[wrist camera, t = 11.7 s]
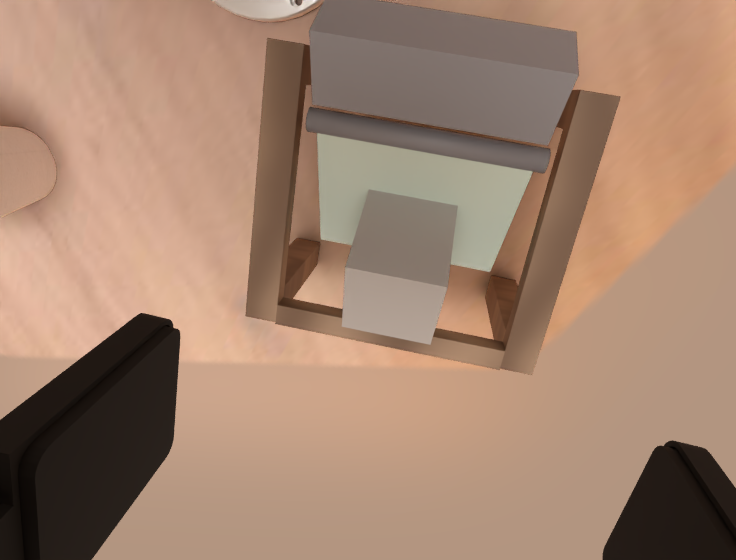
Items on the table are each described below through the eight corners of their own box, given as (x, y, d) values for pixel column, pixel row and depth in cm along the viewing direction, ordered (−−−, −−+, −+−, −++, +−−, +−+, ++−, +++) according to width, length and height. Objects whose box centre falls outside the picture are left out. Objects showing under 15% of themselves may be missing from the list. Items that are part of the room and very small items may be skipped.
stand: (294, 261, 40) (245, 317, 30) (317, 53, 34) (267, 37, 24) (508, 303, 39) (531, 376, 29) (567, 95, 33) (620, 96, 23)
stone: (368, 189, 29) (345, 267, 25) (457, 205, 28) (447, 287, 24) (363, 250, 32) (341, 326, 29) (441, 265, 32) (430, 344, 28)
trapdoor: (323, 208, 35) (310, 244, 33) (317, -10, 23) (297, 28, 21) (500, 242, 34) (497, 281, 32) (588, 33, 22) (591, 76, 20)
